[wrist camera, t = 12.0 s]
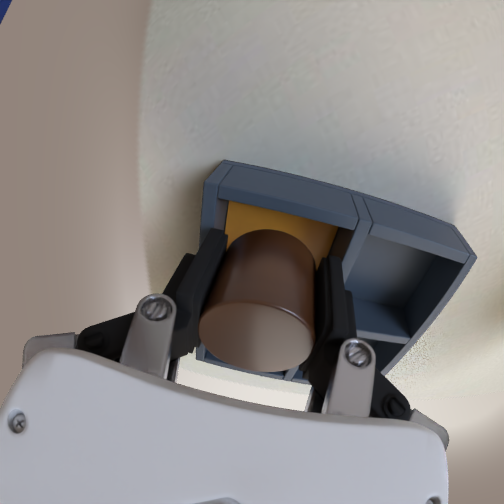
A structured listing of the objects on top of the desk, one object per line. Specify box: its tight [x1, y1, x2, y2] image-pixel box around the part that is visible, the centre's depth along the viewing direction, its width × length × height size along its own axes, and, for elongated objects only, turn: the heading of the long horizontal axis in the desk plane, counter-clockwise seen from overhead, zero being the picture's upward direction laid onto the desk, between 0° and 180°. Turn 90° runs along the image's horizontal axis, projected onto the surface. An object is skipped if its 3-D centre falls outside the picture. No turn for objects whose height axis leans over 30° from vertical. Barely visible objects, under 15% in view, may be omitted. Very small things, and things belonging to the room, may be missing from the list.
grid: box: [196, 160, 477, 385], centre depth 15 cm, size 13×13×3 cm
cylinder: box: [198, 229, 316, 372], centre depth 10 cm, size 4×4×4 cm
